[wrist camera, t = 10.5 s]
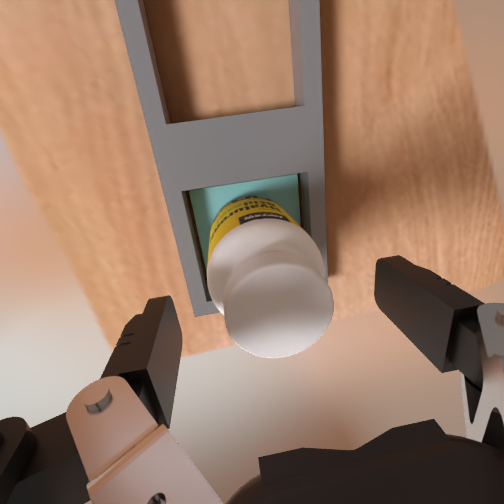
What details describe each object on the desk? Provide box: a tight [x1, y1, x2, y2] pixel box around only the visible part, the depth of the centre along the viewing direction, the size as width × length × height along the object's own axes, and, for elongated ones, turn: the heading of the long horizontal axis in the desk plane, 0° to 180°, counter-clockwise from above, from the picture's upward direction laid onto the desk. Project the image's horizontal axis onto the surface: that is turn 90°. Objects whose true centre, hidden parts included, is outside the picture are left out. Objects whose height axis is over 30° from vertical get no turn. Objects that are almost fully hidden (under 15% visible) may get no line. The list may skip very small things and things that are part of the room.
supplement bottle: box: [207, 195, 334, 358], centre depth 14 cm, size 5×5×10 cm
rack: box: [115, 0, 328, 317], centre depth 16 cm, size 20×10×2 cm, turn 8°
